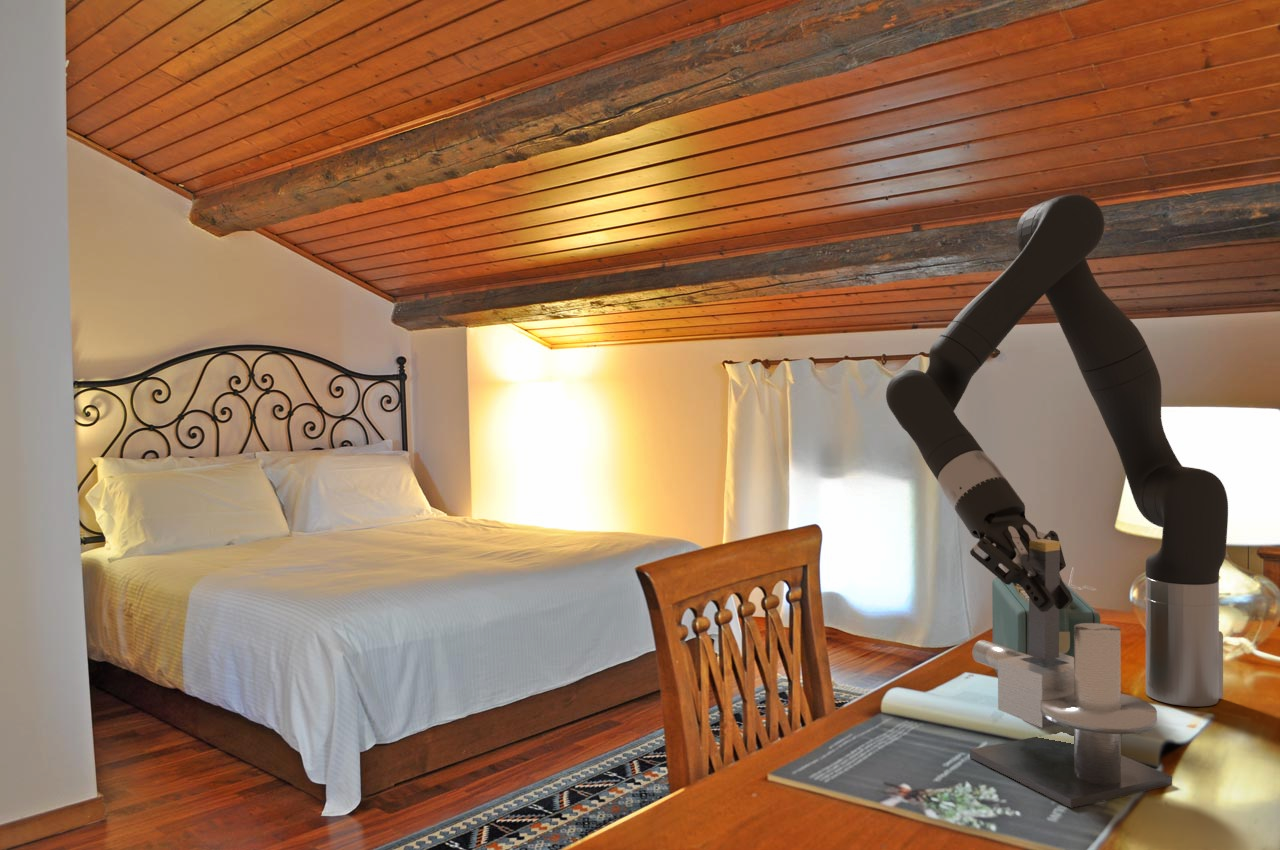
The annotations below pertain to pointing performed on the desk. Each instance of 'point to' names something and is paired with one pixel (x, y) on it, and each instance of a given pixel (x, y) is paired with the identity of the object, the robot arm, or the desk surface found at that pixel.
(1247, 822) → the desk surface
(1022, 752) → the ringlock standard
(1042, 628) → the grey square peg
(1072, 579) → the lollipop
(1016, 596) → the radio
